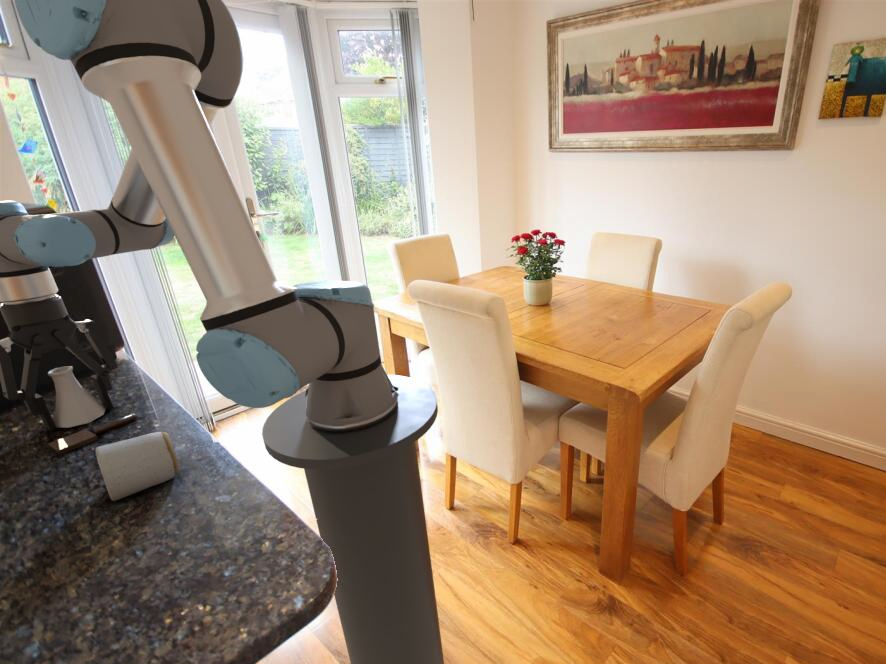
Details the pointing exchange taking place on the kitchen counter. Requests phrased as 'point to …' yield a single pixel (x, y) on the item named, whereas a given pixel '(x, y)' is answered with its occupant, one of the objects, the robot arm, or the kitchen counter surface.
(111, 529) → the kitchen counter surface
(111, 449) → the white cylinder
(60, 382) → the flask
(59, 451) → the spatula
